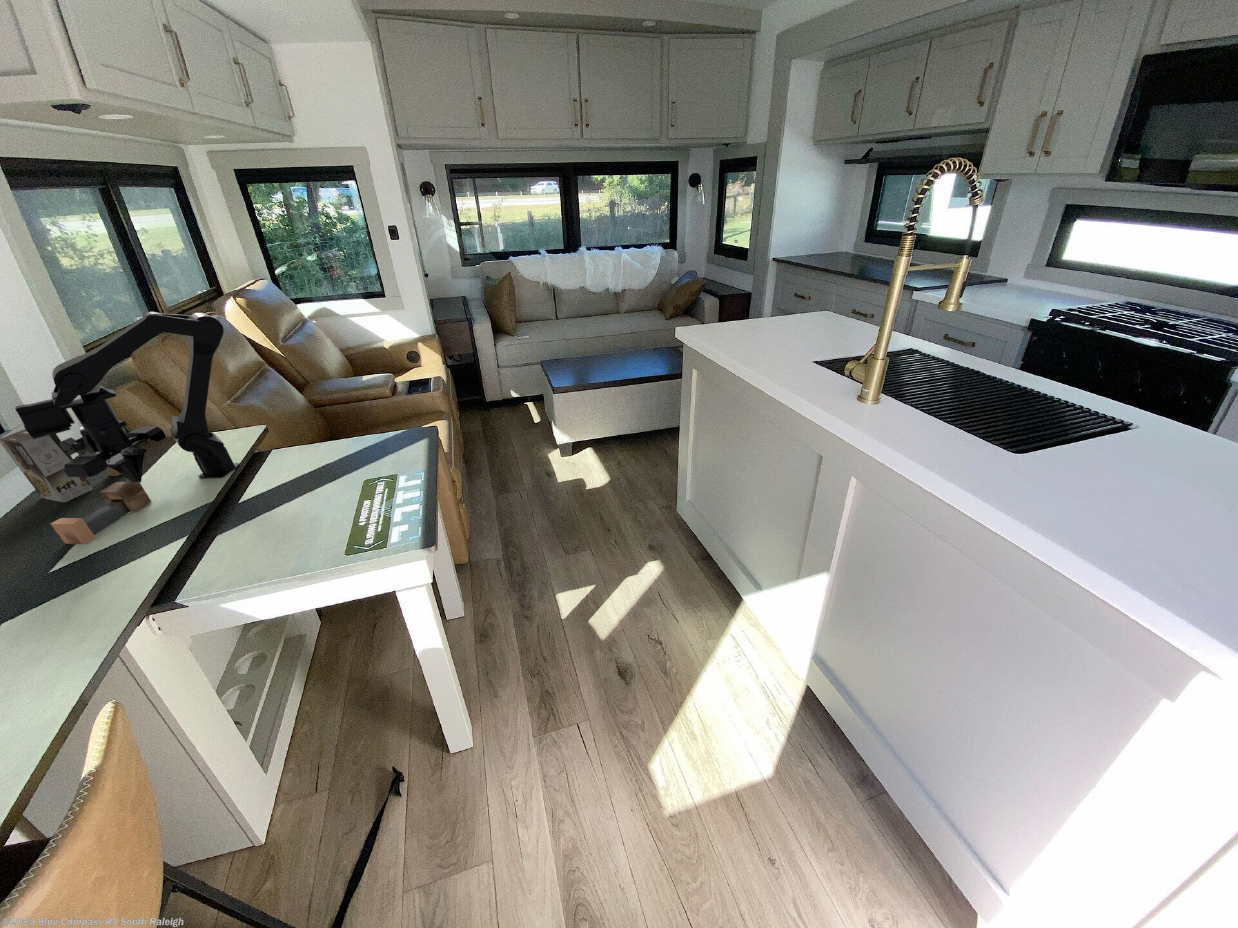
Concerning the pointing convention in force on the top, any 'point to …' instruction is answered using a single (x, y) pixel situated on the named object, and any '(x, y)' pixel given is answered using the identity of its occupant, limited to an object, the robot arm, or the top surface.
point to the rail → (105, 516)
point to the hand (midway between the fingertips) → (137, 483)
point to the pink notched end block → (73, 530)
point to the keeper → (127, 494)
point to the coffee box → (45, 465)
